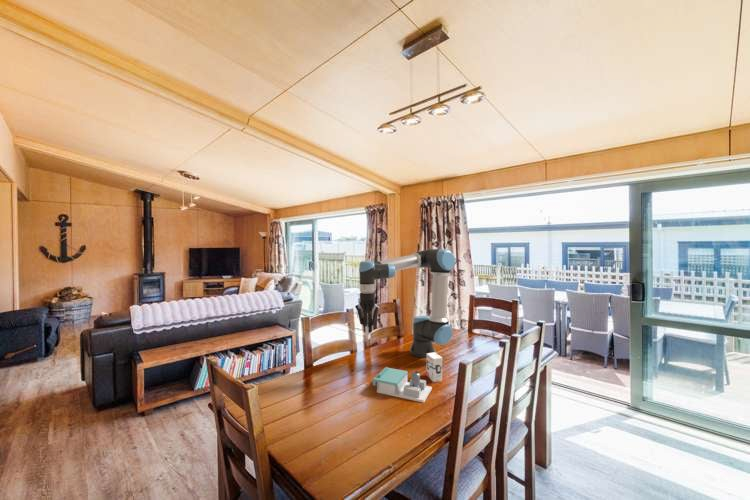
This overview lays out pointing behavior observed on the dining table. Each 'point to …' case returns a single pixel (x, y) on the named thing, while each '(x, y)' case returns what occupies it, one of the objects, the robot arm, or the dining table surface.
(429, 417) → the dining table surface
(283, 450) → the dining table surface
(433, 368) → the ink box
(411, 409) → the dining table surface
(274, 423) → the dining table surface
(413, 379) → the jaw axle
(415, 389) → the housing
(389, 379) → the lid
